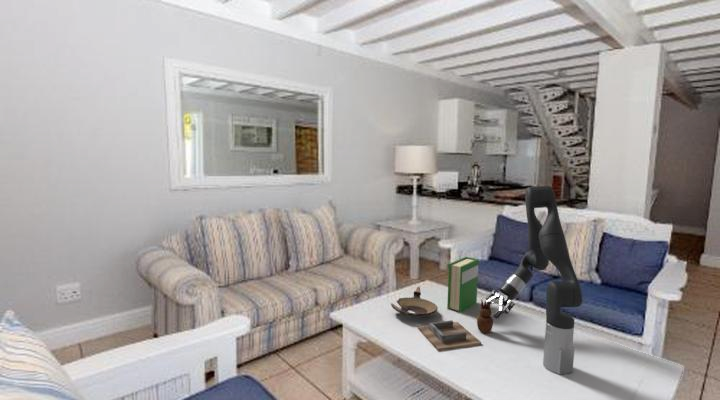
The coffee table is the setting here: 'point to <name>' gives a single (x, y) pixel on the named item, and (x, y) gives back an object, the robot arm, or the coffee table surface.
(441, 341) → the keeper cradle
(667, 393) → the coffee table surface
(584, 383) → the coffee table surface
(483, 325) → the wooden figurine
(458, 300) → the hardback book
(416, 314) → the oil lamp
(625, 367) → the coffee table surface
